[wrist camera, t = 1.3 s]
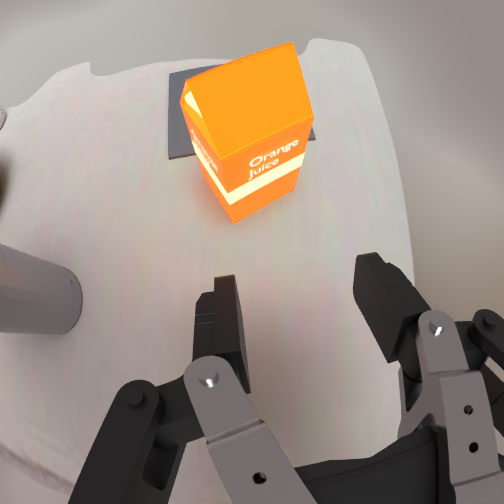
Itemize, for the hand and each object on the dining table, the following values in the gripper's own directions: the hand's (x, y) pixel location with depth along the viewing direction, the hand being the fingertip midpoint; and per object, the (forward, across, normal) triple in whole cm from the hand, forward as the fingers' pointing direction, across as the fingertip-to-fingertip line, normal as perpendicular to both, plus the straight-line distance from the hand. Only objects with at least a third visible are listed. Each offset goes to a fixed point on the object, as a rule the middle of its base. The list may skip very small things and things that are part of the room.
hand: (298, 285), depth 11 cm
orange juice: (+27, 0, +5) cm, 27 cm away
